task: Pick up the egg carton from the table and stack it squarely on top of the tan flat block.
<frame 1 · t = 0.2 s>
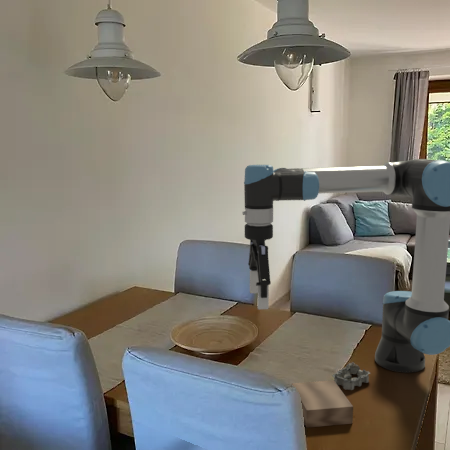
hand: (258, 300, 138), 28 cm above the table, tool pointing down, fingers open, 13 cm apart
egg carton: (351, 383, 149), on the table
tan flat block: (320, 411, 134), on the table
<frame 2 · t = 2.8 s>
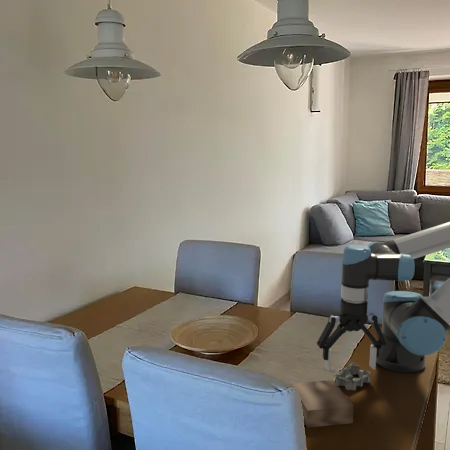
hand: (350, 368, 149), 4 cm above the table, tool pointing down, fingers open, 13 cm apart
nothing on the table moved.
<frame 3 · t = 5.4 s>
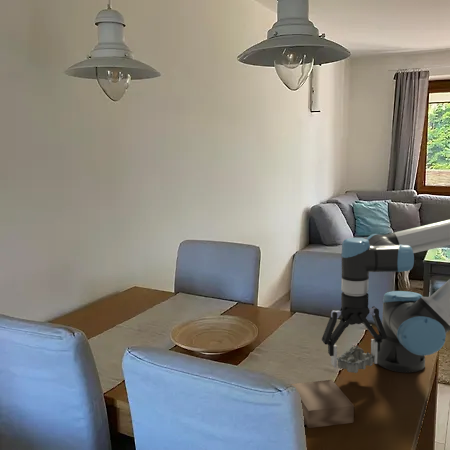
hand: (354, 363, 148), 6 cm above the table, tool pointing down, fingers closed on egg carton, 11 cm apart
egg carton: (355, 366, 148), point 5 cm above the table, touching gripper
everything else where it was.
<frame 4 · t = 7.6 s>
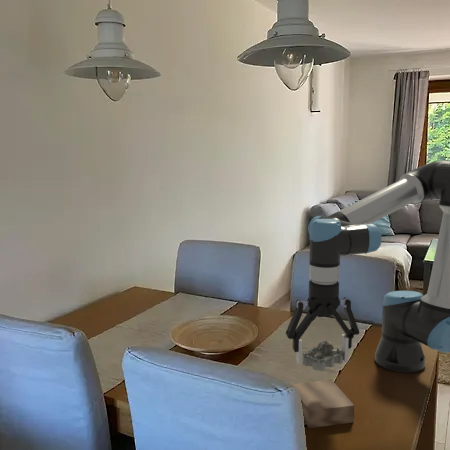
hand: (321, 361, 132), 14 cm above the table, tool pointing down, fingers closed on egg carton, 11 cm apart
egg carton: (323, 363, 132), point 13 cm above the table, touching gripper
everything else where it was.
when the fingers open (6 cm above the table, at t = 10.0 s): egg carton stays where it is, resting on tan flat block.
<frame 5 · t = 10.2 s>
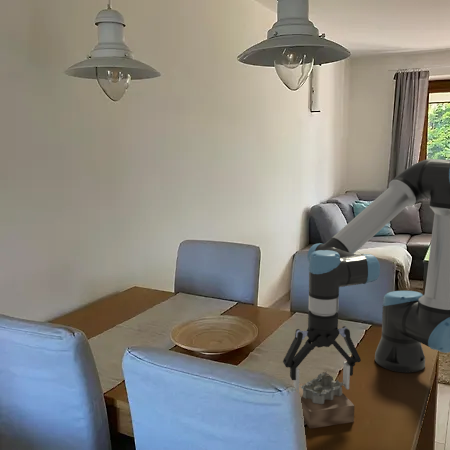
hand: (321, 388, 133), 6 cm above the table, tool pointing down, fingers open, 13 cm apart
egg carton: (322, 395, 133), point 4 cm above the table, touching tan flat block
tan flat block: (320, 412, 134), on the table, touching egg carton
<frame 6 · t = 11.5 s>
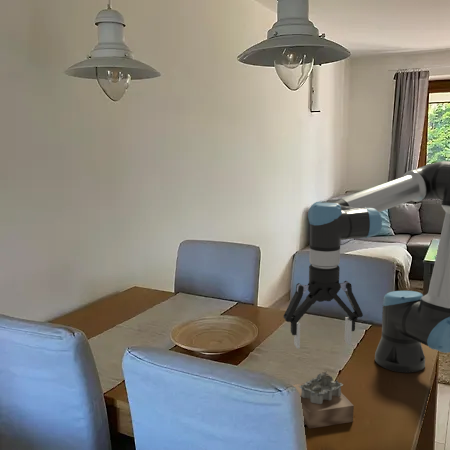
hand: (322, 344, 131), 18 cm above the table, tool pointing down, fingers open, 13 cm apart
nothing on the table moved.
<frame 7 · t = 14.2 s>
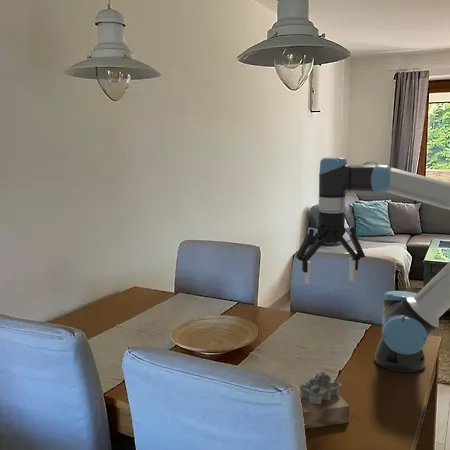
hand: (329, 281, 151), 29 cm above the table, tool pointing down, fingers open, 13 cm apart
tan flat block: (315, 412, 134), on the table, touching egg carton
everything else where it was.
at the end: egg carton inside the target area on the tan flat block (1.1 cm from its centre), point 4.8 cm above the tan flat block's base; egg carton tilted 1°; the gripper is holding nothing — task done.
